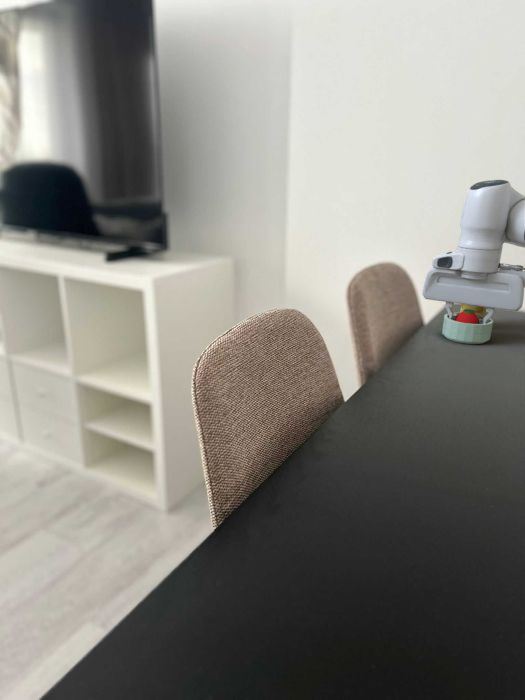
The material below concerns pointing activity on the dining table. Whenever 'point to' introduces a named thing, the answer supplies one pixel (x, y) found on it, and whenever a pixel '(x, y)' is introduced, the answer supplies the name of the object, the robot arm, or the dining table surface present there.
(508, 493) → the dining table surface
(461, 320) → the tomato
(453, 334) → the bowl
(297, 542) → the dining table surface
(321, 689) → the dining table surface
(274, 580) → the dining table surface
